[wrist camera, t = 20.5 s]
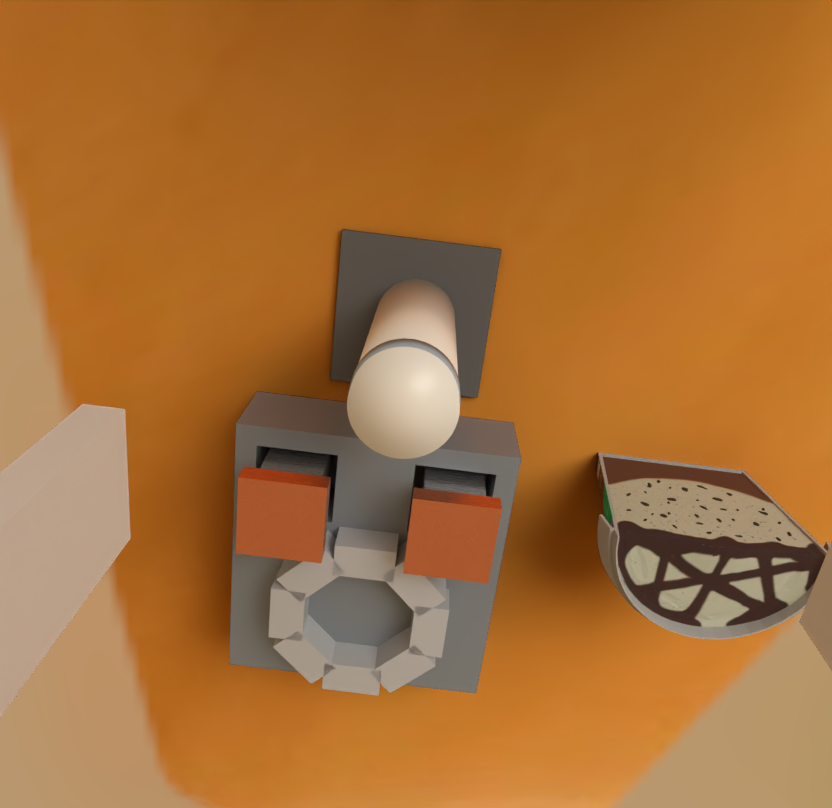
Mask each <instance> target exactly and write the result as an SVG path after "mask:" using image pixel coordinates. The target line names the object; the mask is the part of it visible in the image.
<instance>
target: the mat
mask: <svg viewBox="0 0 832 808" xmlns="http://www.w3.org/2000/svg"><path fill="white" fill-rule="evenodd" d="M500 255H501V249H497V248H489V247H481V246H473V245H465V244H457V243H449V242H441V241H433V240H425V239H417V238H409V237H402V236H394V235H386V234H378V233H370V232H362V231H354V230H346V229H343V230H342V239H341V251H340V264H339V277H338V289H337V302H336V315H335V327H334V340H333V353H332V365H331V378H330V380H336V381H344V382H351V380H352V377H353V374H354V371H355V369H356V367H357V365H358V363H359V360H360V357H361V354H362V351H363V349H364V346H365V343H366V340H367V337H368V334H369V331H370V328H371V325H372V322H373V319H374V316H375V313H376V310H377V307H378V304H379V302H380V300H381V298H382V296H383V295H384V294H385V292H386V291H387V290H388V289H389V288H391V287H392V286H393V285H395V284H397V283H399V282H401V281H404V280H409V279H421V280H426V281H429V282H432V283H434V284H436V285H437V286H439V287H440V288H441V289H442V290H443V291H444V292H445V293H446V294H447V295H448V297H449V298H450V300H451V302H452V305H453V308H454V312H455V329H456V347H457V365H458V378H459V383H460V396H465V397H473V398H477V397H478V391H479V385H480V379H481V373H482V366H483V360H484V354H485V348H486V342H487V335H488V329H489V323H490V317H491V311H492V304H493V298H494V292H495V286H496V280H497V273H498V267H499V261H500Z"/></svg>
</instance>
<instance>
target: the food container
mask: <svg viewBox="0 0 832 808" xmlns="http://www.w3.org/2000/svg"><path fill="white" fill-rule="evenodd" d="M596 473H597V479H598V484H599V490H600V495H601V500H602V505H603V510H604V515H605V517H604V516H603V515H602V514H599V521H598V528H597V538H598V549H599V553H600V558H601V561H602V564H603V566H604V568H605V571H606V573H607V575H608V576H609V578H610V579H611V581H612V582H613V584H614V585H615V587H616V588H617V589H618V591H619V592H620V593H621V594H622V596H623V597H624V598H625V599H626V600H627V601H628V603H629V604H630V605H631V606H632V607H633V608H634V609H635V610H636V611H638V612H639V613H640V614H642V615H643V616H645V617H646V618H647V619H649V620H651V621H652V622H654V623H655V624H657V625H659V626H661V627H663V628H665V629H667V630H669V631H672V632H675V633H678V634H681V635H684V636H689V637H694V638H700V639H729V638H737V637H742V636H747V635H752V634H755V633H758V632H761V631H764V630H767V629H769V628H772V627H774V626H776V625H778V624H780V623H783V622H784V621H786V620H787V619H789V618H791V617H792V616H794V615H796V614H797V613H799V612H800V611H801V610H802V609H804V608H805V606H806V604H807V601H808V599H809V596H810V594H811V591H812V589H813V586H814V584H815V581H816V579H817V576H818V574H819V571H820V569H821V566H822V564H823V562H824V559H825V557H826V554H827V552H828V549H829V547H830V543H828V542H826V544H825V546H824V547H823V546H821V545H820V544H819V543H818V542H817V541H816V540H815V539H814V538H813V537H812V536H811V535H810V534H809V533H808V532H807V531H806V530H805V529H804V528H803V527H802V526H801V525H800V524H799V523H798V522H797V521H796V520H795V519H794V518H793V517H792V516H791V515H790V514H789V513H788V512H786V511H785V510H784V509H783V508H782V507H781V506H780V505H779V504H778V503H777V502H776V501H775V500H774V499H773V498H772V497H771V496H770V495H769V494H768V493H767V492H766V491H765V490H764V489H763V488H762V487H761V486H760V485H759V484H758V483H757V482H756V481H755V480H754V479H753V478H752V477H750V476H749V475H748V474H747V473H746V472H745V471H743V470H735V469H727V468H719V467H711V466H703V465H695V464H687V463H679V462H671V461H663V460H655V459H647V458H639V457H631V456H623V455H615V454H607V453H599V452H598V456H597V463H596Z"/></svg>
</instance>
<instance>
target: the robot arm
mask: <svg viewBox="0 0 832 808" xmlns="http://www.w3.org/2000/svg"><path fill="white" fill-rule="evenodd" d="M130 538H131V536H130V512H129V489H128V465H127V442H126V418H125V409H121V408H113V407H105V406H97V405H89V404H82V405H81V406H79V407H78V408H77V409H76V410H75V411H73V412H72V413H71V414H70V415H69V416H67V417H66V418H65V419H64V420H63V421H61V422H60V423H59V424H58V425H57V426H55V427H54V428H53V429H52V430H51V431H49V432H48V433H47V434H46V435H45V436H44V437H42V438H41V439H40V440H39V441H37V442H36V443H35V444H34V445H33V446H31V447H30V448H29V449H28V450H27V451H25V452H24V453H23V454H22V455H21V456H19V457H18V458H17V459H16V460H15V461H14V462H12V463H11V464H10V465H9V466H7V467H6V468H5V469H4V470H3V471H1V472H0V717H1V716H2V714H3V713H4V712H5V710H6V709H7V707H8V706H9V705H10V703H11V702H12V701H13V699H14V698H15V697H16V695H17V694H18V692H19V691H20V690H21V688H22V687H23V686H24V684H25V683H26V681H27V680H28V678H29V677H30V676H31V675H32V673H33V672H34V670H35V669H36V668H37V666H38V665H39V664H40V662H41V661H42V659H43V658H44V657H45V655H46V654H47V652H48V651H49V650H50V648H51V647H52V646H53V644H54V643H55V642H56V640H57V639H58V637H59V636H60V635H61V633H62V632H63V631H64V629H65V628H66V626H67V625H68V624H69V622H70V621H71V620H72V618H73V617H74V615H75V614H76V613H77V611H78V610H79V609H80V607H81V606H82V604H83V603H84V602H85V600H86V599H87V597H88V596H89V595H90V593H91V592H92V590H93V589H94V588H95V587H96V585H97V584H98V582H99V581H100V580H101V578H102V577H103V576H104V574H105V573H106V571H107V570H108V569H109V567H110V566H111V565H112V563H113V562H114V560H115V559H116V558H117V556H118V555H119V554H120V552H121V551H122V549H123V548H124V547H125V545H126V544H127V543H128V541H129V540H130ZM799 622H800V623H801V625H802V626H803V628H804V629H805V631H806V632H807V634H808V635H809V637H810V638H811V640H812V641H813V643H814V644H815V646H816V648H817V649H818V650H819V652H820V653H821V655H822V657H823V658H824V660H825V661H826V663H827V664H828V666H829V667H830V669H831V670H832V542H831V544H830V547H829V549H828V552H827V554H826V557H825V559H824V562H823V564H822V566H821V569H820V571H819V574H818V576H817V579H816V581H815V584H814V586H813V589H812V591H811V594H810V596H809V599H808V601H807V604H806V606H805V609H804V611H803V614H802V616H801V619H800V621H799Z"/></svg>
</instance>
